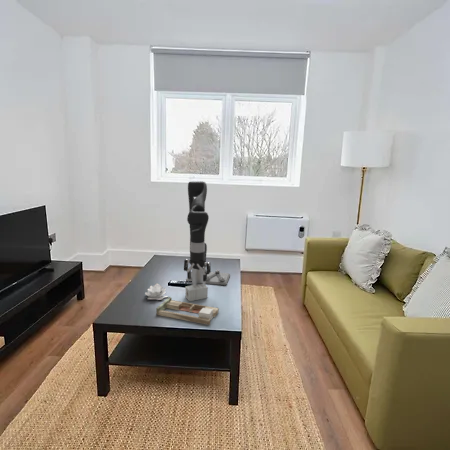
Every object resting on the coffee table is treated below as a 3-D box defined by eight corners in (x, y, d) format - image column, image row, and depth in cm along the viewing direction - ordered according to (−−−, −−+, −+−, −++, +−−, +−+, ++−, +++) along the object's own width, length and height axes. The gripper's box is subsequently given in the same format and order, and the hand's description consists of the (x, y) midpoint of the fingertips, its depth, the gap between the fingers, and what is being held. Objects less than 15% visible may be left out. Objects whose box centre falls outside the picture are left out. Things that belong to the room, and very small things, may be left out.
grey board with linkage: (230, 276, 242) (230, 267, 241) (226, 286, 221) (226, 277, 220) (192, 272, 246) (192, 264, 245) (184, 283, 225) (184, 273, 224)
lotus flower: (173, 297, 201) (173, 284, 199) (154, 304, 189) (154, 291, 187) (158, 290, 209) (158, 278, 208) (139, 298, 198) (139, 284, 196)
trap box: (169, 303, 191) (169, 297, 191) (218, 312, 182) (218, 305, 182) (156, 314, 177) (156, 308, 176) (209, 324, 168) (209, 317, 167)
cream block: (202, 315, 178) (202, 307, 177) (212, 317, 176) (213, 309, 175) (198, 320, 172) (198, 312, 171) (209, 322, 170) (209, 314, 170)
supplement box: (184, 297, 201) (203, 293, 207) (189, 301, 195) (207, 298, 201) (185, 286, 200) (203, 283, 206) (189, 290, 193) (208, 287, 199)
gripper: (213, 249, 164) (212, 279, 167) (188, 246, 168) (187, 275, 171) (207, 253, 157) (206, 284, 160) (181, 250, 161) (181, 280, 164)
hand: (196, 279), depth 165 cm, fingers open, 8 cm apart
